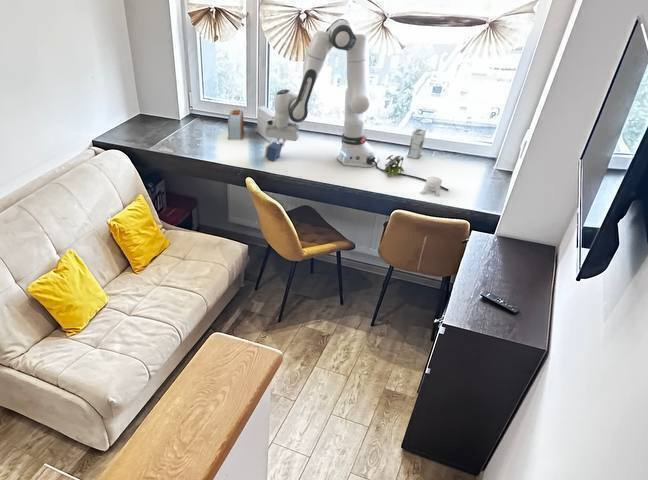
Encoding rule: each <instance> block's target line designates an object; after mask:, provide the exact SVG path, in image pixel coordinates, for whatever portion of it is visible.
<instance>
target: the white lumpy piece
mask: <svg viewBox="0 0 648 480" xmlns="http://www.w3.org/2000/svg"><path fill="white" fill-rule="evenodd" d="M426 180H427V181H425V185H424V187H423V189H422V191H421V194H424V193H426V191H430V192H434V191H435V195H436V196H439V195H440V191H439V190H440V189H441V187H440V186H442V182H443V179H442V178H440V177H437V176H427V177H426Z"/></svg>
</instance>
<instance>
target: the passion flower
mask: <svg viewBox="0 0 648 480" xmlns="http://www.w3.org/2000/svg"><path fill="white" fill-rule="evenodd" d="M393 156H394V155H393V154H391V155H389V156H387V158H386V159H385V160H386V161H388V160H389V161H388V162H387V163H385V164H384V169H383V170H387V171H389V172H387V176H388V177H390V176H391V177H393V176H396V175H398V174H397V173H401V174H402V172H403V173H404V172H405V170H404V168H403V167H402V165H403V163H404V162H403V161H404V156H401V155H396V156H395V157H393ZM392 157H393V158H392ZM399 165H400V166H399ZM391 172H392V173H391Z"/></svg>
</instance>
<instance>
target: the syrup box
mask: <svg viewBox="0 0 648 480" xmlns="http://www.w3.org/2000/svg"><path fill="white" fill-rule="evenodd" d="M426 132H427V130H425V129H422V128H416V129H415V130H413V131H412V133H411V139H410V144H409V147H408V148H409V149H408V154H407V157H408V158H411V159H416V160H417V159H418V158H419V157H420V156H421V155H422V150H423V147H424V141H425V138H426V137H425V136H426V134H427V133H426Z"/></svg>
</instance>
